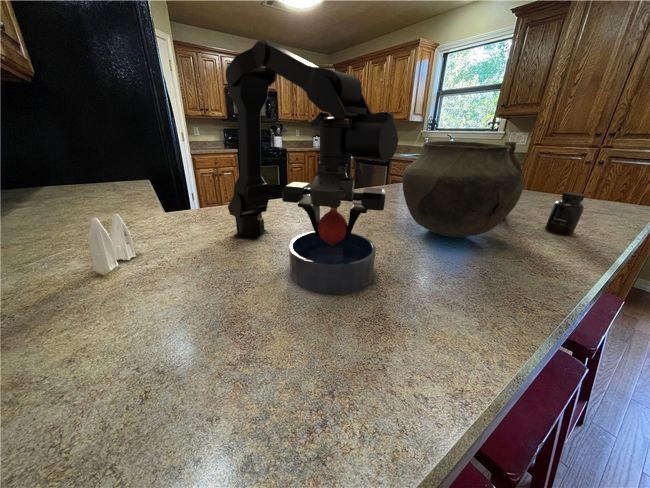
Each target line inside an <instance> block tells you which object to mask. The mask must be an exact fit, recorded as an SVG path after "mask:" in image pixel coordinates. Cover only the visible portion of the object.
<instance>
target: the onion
mask: <svg viewBox="0 0 650 488" xmlns="http://www.w3.org/2000/svg"><path fill="white" fill-rule="evenodd" d="M347 227H348V221H347V219H346V217H344V215H343V214H342V213H340V212H339V211H338V208H330V209H329V211H327V212H326V213H324V214H323V215H322V216H321V217H320V221H319V224H318V232H319V235H320V237H321V238H322V239H323V240H324V241H325V242H326V243H328V244H330V245H335V244H336V243H338V242H340V241H341V240H342V239H343V238H344V237H345V236H346V232H347Z"/></svg>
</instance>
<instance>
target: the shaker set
mask: <svg viewBox="0 0 650 488" xmlns="http://www.w3.org/2000/svg"><path fill="white" fill-rule="evenodd" d="M87 243H88V247H89V248H88V249H89V252H90V256H91V262H92V270H93V271H94V272H95V273H98V274H100V275H102V276H105V275H106V274H109V273H110V272H111V271H112V270H113V269H115V268H117V267H118V266H119V263H118V261H119V260H123V261H124V262H125V261H127V260H128V261H129V260H131V258H135V257H136V253H135V252H136V250H135V249H134V242H133V239H132V234H131V232H130V230H129V228H128V227H127V225H126V224H125V222H124V220H123V219H122V217H120V215H119V214H118V213H114V214H113V215H112V220H111V225H110V231H109V233H108V232H107V230H106V229H105V227H104V226H103V224H102V223H101V221H100V220H99V219H98V217H92V218H91V220H90V226H89V233H88V239H87Z"/></svg>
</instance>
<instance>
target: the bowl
mask: <svg viewBox="0 0 650 488" xmlns="http://www.w3.org/2000/svg"><path fill="white" fill-rule="evenodd" d="M376 250H377V248H376V245H375V243H374V242H373V241H372V240H371V239H369V238H368V237H366V236H363V235H361V234H358V233H355V232H351V234H350V236H349V239H348V240H346V236H345V237H344V238H343V239H342V240H341V241H340V242H338V243H336V244H335V245H330V244H328V243H326V242H325V241H324V240H323V239H322V238H321V237H320V235H319V237H316V234H315V232H314V230H313V231H308V232H305V233H302V234H299V235H297V236H296V237H294V238H293V239H292V240H291V241H290V242H289V246H288V254H289V255H288V256H289V257H288V258H289V259H288V260H289V273H290V277H291V279H292V281H293V282H294V283H295V284H297V285H298V286H299V287H300V288H303V289H304V290H307V291H309V292H314V293H317V294H322V295H347V294H351V293H355V292H358V291H361V290H363V289H364V288H366V287H367V286H368V285H370V283H371V281H372V280H373V277H374V270H375V268H374V267H375V259H376V252H377V251H376Z"/></svg>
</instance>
